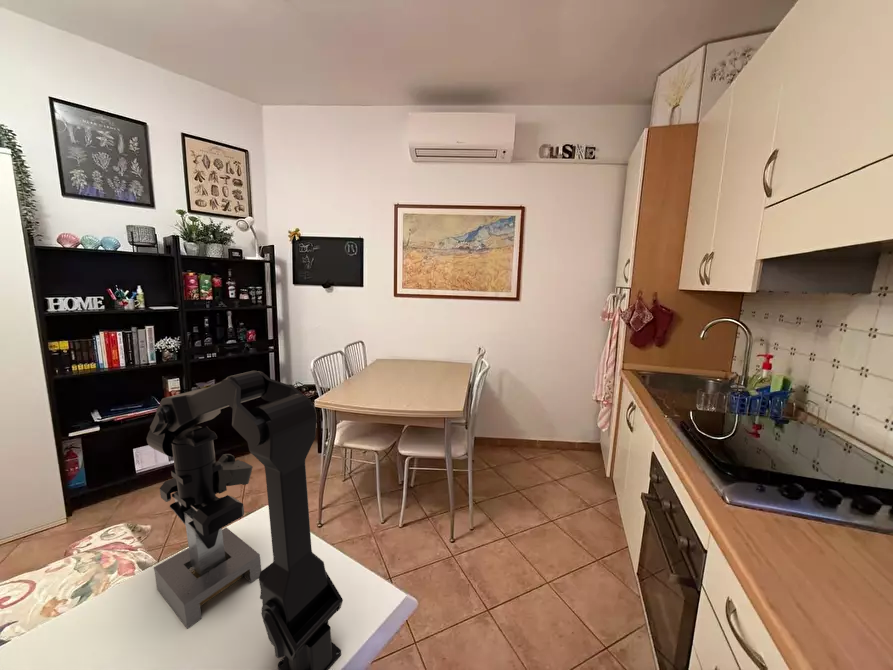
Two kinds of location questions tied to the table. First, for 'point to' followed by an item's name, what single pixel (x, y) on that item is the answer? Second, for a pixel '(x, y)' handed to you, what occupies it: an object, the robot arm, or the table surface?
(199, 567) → the tall square pillar
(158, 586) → the slotted bridge-shaped block
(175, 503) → the robot arm
